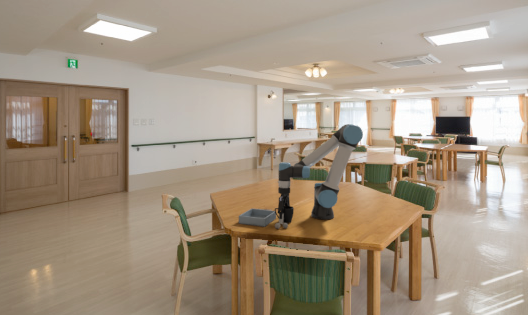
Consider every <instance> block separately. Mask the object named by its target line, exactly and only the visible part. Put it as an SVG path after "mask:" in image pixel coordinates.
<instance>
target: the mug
mask: <svg viewBox="0 0 528 315" xmlns="http://www.w3.org/2000/svg"><path fill="white" fill-rule="evenodd" d="M277 210H278V207H276V208H275V207H274V211H275V213H276V218H278V219H279V214H278V212H277ZM294 210H295V209H294V206H291V205H290V206H284V210H283V214H284V217H283V224H284V223H287V224H291V223H292V221H293V216H294Z"/></svg>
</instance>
